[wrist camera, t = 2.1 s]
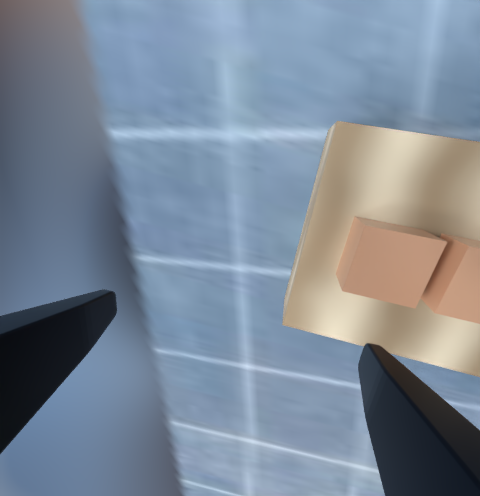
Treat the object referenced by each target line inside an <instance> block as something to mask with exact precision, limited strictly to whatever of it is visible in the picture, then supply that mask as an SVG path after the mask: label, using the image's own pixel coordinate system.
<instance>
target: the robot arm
mask: <svg viewBox="0 0 480 496" xmlns="http://www.w3.org/2000/svg"><path fill="white" fill-rule="evenodd" d="M116 312H117V305H116V294H115V292H113V291H110V290H105V289H104V290H99V291H95V292H91V293H87V294H83V295H80V296H76V297H72V298H68V299H64V300H60V301H56V302H53V303H49V304H45V305H41V306H37V307H34V308H30V309H25V310H22V311H18V312H14V313H10V314H6V315H2V316H0V454H1V453H2V452H3V450H4V449H5V448H6V447H7V446H8V445H9V444H10V442H11V441H12V440H13V439H14V438H15V437H16V435H17V434H18V433H19V432H20V431H21V430H22V429H23V427H24V426H25V425H26V424H27V423H28V422H29V420H30V419H31V418H32V417H33V416H34V415H35V414H36V412H37V411H38V410H39V409H40V408H41V407H42V406H43V404H44V403H45V402H46V401H47V400H48V399H49V398H50V396H51V395H52V394H53V393H54V392H55V391H56V389H57V388H58V387H59V386H60V385H61V384H62V382H63V381H64V380H65V379H66V378H67V377H68V376H69V375H70V373H71V372H72V371H73V370H74V369H75V368H76V367H77V365H78V364H79V363H80V362H81V361H82V360H83V359H84V357H85V356H86V355H87V354H88V353H89V351H90V350H91V349H92V347H93V346H94V345H95V344H96V342H97V341H98V339H99V338H100V337H101V335H102V334H103V332H104V331H105V330H106V328H107V327H108V325H109V324H110V323H111V321H112V320H113V318H114V317H115V315H116ZM358 371H359V378H360V384H361V391H362V398H363V405H364V412H365V418H366V422H367V426H368V430H369V434H370V438H371V442H372V446H373V450H374V454H375V458H376V462H377V466H378V470H379V473H380V477H381V481H382V485H383V489H384V493H385V496H480V430H479V429H478V428H476V427H475V426H474V425H473V424H472V423H471V422H469V421H468V420H467V419H466V418H465V417H464V416H462V415H461V414H460V413H459V412H458V411H456V410H455V409H454V408H453V407H452V406H451V405H449V404H448V403H447V402H446V401H445V400H444V399H442V398H441V397H440V396H439V395H438V394H437V393H435V392H434V391H433V390H432V389H431V388H430V387H428V386H427V385H426V384H425V383H424V382H423V381H421V380H420V379H419V378H418V377H417V376H416V375H414V374H413V373H412V372H411V371H410V370H409V369H407V368H406V367H405V366H404V365H403V364H402V363H400V362H399V361H398V360H397V359H396V358H395V357H393V356H392V355H391V354H390V353H389V352H388V351H386V350H385V349H384V348H383V347H382V346H380V345H377V344H372V343H366V344H365V346H364V348H363V351H362V354H361V357H360V360H359V364H358Z"/></svg>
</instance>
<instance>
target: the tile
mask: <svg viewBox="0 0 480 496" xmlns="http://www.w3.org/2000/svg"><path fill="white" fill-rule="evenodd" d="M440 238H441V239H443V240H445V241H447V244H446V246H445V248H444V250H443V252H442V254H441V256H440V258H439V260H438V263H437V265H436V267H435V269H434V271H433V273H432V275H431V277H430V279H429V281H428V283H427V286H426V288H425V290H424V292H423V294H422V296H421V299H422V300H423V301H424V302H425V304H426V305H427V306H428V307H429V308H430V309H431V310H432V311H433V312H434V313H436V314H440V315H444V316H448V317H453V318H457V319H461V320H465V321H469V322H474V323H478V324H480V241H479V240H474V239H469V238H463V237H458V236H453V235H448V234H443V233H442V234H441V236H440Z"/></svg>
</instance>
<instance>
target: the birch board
mask: <svg viewBox="0 0 480 496" xmlns="http://www.w3.org/2000/svg"><path fill="white" fill-rule="evenodd" d="M354 216H357V217H362V218H367V219H372V220H377V221H382V222H387V223H392V224H397V225H402V226H407V227H413V228H418V229H423V230H425V231H427V232H429V233H431V234H433V235H435V236H437V237H439V238H440V236H441V234H442V233H443V234H448V235H453V236H458V237H463V238H469V239H474V240H479V241H480V142H477V141H470V140H463V139H456V138H449V137H442V136H436V135H429V134H422V133H415V132H408V131H402V130H395V129H388V128H381V127H374V126H368V125H361V124H354V123H347V122H340V121H337V122H336V123H335V124H334V125H333V126H332V127H331V128H330V129H329V130H328V133H327V137H326V141H325V145H324V149H323V152H322V156H321V160H320V164H319V168H318V172H317V175H316V179H315V183H314V187H313V191H312V195H311V199H310V202H309V206H308V210H307V214H306V218H305V222H304V225H303V229H302V233H301V237H300V241H299V245H298V248H297V252H296V256H295V260H294V264H293V268H292V272H291V275H290V279H289V283H288V287H287V291H286V295H285V298H284V312H283V325H285V326H289V327H293V328H296V329H300V330H304V331H308V332H311V333H315V334H319V335H323V336H327V337H330V338H334V339H338V340H342V341H345V342H349V343H353V344H357V345H361V346H365V344H366V343H372V344H377V345H380V346H382V347H383V348H384V349H385V350H386V351H388V352H389V353H391V354H395V355H398V356H402V357H406V358H410V359H414V360H417V361H421V362H425V363H429V364H432V365H436V366H440V367H444V368H448V369H451V370H455V371H459V372H463V373H467V374H470V375H474V376H478V377H480V324H478V323H474V322H469V321H465V320H461V319H457V318H453V317H448V316H444V315H440V314H436V313H434V312H433V311H432V310H431V309H430V308H429V307H428V306H427V305H426V304H425V302H424V301H423V300H422V299H421V298H420V300H419V302H418V304H417V306H416V308H411V307H406V306H402V305H398V304H394V303H390V302H385V301H381V300H377V299H373V298H369V297H364V296H360V295H356V294H352V293H348V292H343V291H342V289H341V287H340V284H339V281H338V279H337V276H336V271H337V268H338V265H339V262H340V259H341V256H342V253H343V250H344V247H345V244H346V241H347V238H348V235H349V232H350V228H351V225H352V222H353V219H354Z"/></svg>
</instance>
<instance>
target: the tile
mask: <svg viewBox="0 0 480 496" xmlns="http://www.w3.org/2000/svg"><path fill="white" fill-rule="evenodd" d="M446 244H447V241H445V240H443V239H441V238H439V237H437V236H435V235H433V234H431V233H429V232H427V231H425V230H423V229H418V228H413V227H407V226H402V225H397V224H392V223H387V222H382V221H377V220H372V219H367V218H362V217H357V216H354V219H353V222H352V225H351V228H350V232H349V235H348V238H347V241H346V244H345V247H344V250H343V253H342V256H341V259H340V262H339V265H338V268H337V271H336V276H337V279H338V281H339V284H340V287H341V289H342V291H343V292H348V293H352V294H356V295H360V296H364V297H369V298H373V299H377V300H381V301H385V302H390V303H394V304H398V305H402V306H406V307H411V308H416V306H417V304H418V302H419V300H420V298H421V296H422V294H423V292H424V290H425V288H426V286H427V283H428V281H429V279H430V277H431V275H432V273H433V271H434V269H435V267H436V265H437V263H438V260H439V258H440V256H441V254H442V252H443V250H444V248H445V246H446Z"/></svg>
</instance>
